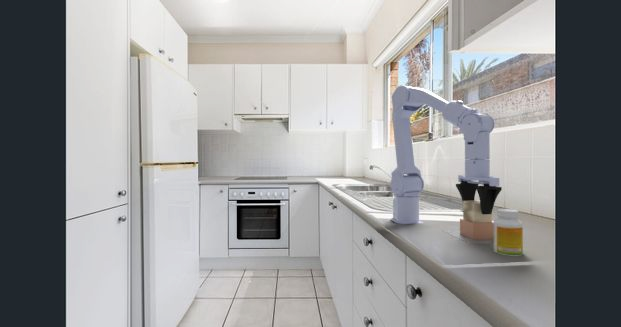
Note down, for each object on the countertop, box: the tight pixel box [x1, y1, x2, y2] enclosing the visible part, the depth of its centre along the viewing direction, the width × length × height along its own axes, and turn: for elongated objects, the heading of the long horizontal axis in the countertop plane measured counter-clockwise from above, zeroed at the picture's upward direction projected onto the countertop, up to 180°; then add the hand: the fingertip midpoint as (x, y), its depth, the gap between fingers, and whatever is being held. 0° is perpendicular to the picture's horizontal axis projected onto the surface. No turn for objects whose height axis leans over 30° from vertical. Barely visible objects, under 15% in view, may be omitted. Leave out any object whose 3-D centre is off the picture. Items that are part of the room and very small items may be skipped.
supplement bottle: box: [493, 208, 524, 257], centre depth 69 cm, size 5×5×10 cm
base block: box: [459, 218, 494, 239], centre depth 83 cm, size 6×6×4 cm
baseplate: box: [442, 229, 494, 245], centre depth 83 cm, size 14×12×1 cm
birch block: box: [462, 199, 493, 223], centre depth 83 cm, size 5×5×5 cm
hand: (477, 211), depth 83 cm, fingers open, 7 cm apart
